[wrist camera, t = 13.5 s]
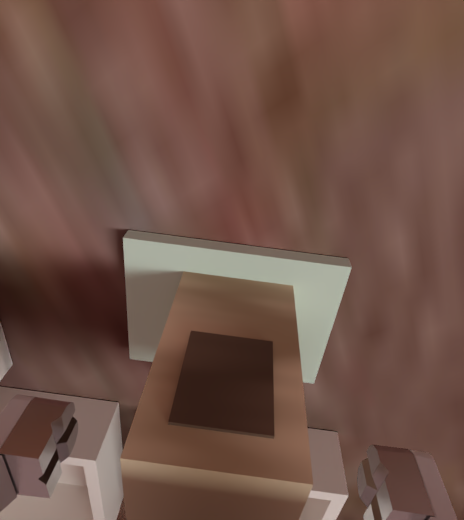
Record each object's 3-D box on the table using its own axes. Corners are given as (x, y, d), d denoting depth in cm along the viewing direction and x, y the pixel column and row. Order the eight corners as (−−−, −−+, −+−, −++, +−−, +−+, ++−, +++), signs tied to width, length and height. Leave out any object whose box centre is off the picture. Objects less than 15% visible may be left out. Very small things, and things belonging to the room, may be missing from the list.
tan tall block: (293, 283, 14) (314, 482, 8) (275, 362, 16) (279, 565, 10) (180, 268, 14) (115, 454, 8) (177, 349, 16) (124, 544, 10)
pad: (348, 258, 14) (351, 267, 13) (312, 372, 17) (313, 383, 16) (128, 229, 14) (122, 237, 13) (133, 348, 17) (129, 358, 16)
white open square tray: (337, 432, 19) (348, 495, 16) (303, 512, 23) (308, 572, 21) (174, 410, 19) (159, 469, 16) (171, 494, 23) (159, 551, 21)
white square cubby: (118, 402, 19) (95, 460, 16) (125, 487, 23) (108, 544, 21) (-43, 380, 19) (-91, 435, 17) (-6, 470, 23) (-39, 524, 21)
